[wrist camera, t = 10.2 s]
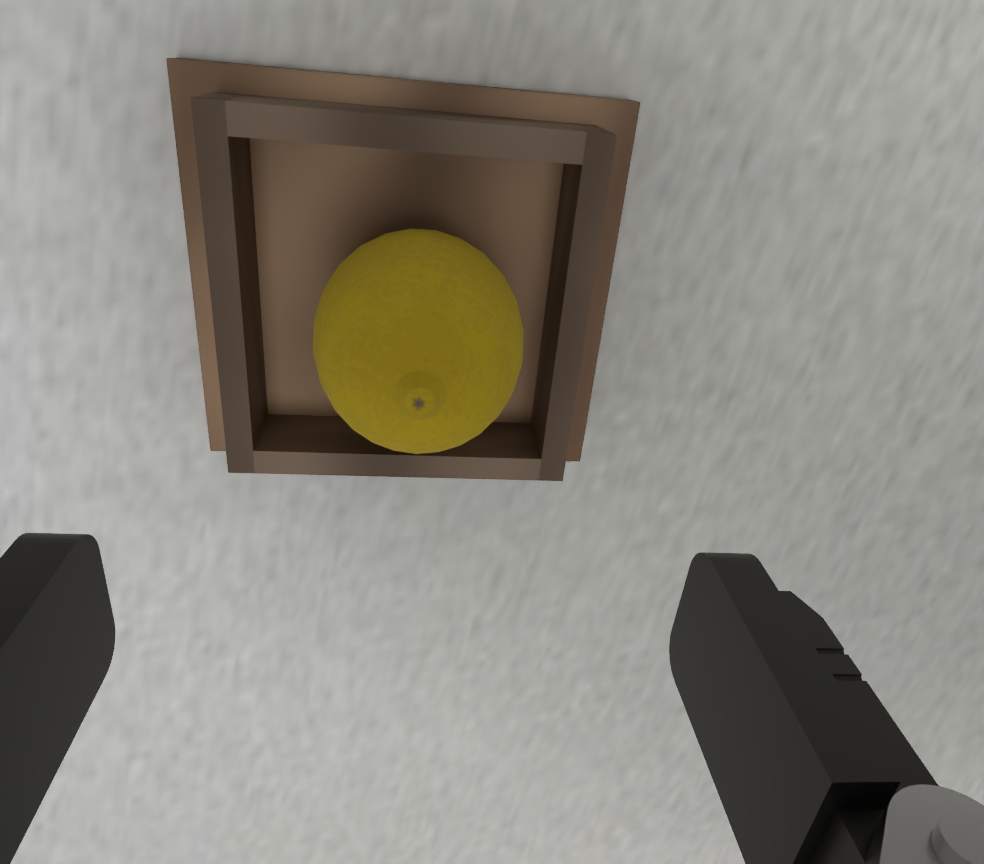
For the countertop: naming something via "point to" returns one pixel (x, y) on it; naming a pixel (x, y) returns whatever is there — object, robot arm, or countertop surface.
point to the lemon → (418, 341)
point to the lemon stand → (374, 212)
